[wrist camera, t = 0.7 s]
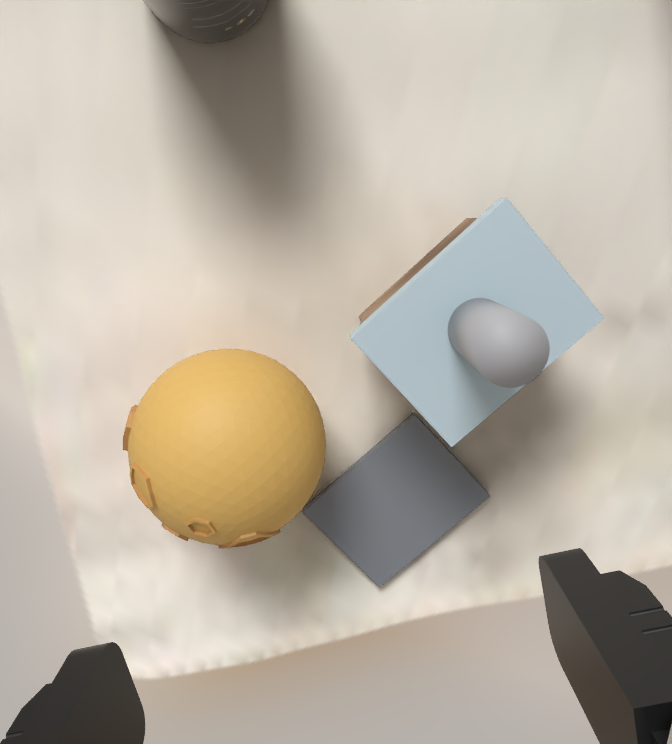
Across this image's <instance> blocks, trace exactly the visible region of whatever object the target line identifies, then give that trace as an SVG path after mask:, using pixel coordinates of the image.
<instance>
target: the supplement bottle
mask: <svg viewBox="0 0 672 744" xmlns="http://www.w3.org/2000/svg"><path fill="white" fill-rule="evenodd" d="M143 1H144V2H145V4H146V5H147V6H148V7H149V8H150V10H151V11H152V12H153V13H154V14H155V15H156V16H157V17H158V18H159V19H160V20H161V21H162V22H163V23H164V24H165V25H166V26H167V27H169V28H170V29H171V30H173V31H174V32H176V33H178V34H179V35H181V36H184V37H186V38H188V39H191V40H195V41H200V42H220V41H225V40H228V39H231V38H233V37H236V36H238V35H239V34H241V33H243V32H244V31H246V30H247V29H248V28H249V27H250V26H252V25H253V24H254V23H255V21H256V20H257V19H258V18H259V16H260V15H261V14H262V12H263V10H264V9H265V7H266V5H267V3H268V0H143Z"/></svg>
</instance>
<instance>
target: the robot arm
mask: <svg viewBox="0 0 672 744" xmlns="http://www.w3.org/2000/svg"><path fill="white" fill-rule="evenodd" d="M539 569H540V575H541V581H542V587H543V593H544V599H545V605H546V611H547V618H548V624H549V629H550V634H551V638H552V641H553V645H554V648H555V651H556V653H557V657H558V659H559V662H560V664H561V666H562V668H563V670H564V672H565V674H566V676H567V678H568V680H569V682H570V684H571V686H572V688H573V690H574V692H575V694H576V696H577V698H578V700H579V702H580V704H581V706H582V708H583V710H584V712H585V714H586V716H587V718H588V720H589V722H590V724H591V726H592V728H593V731H594V732H595V734H596V736H597V739H598V740H599V742H600V744H672V617H671V615H670V614H669V613H668V612H667V611H665V610H664V609H663V606H662V605H661V603H660V602H659V601H658V600H657V599H656V597H655V596H654V595H653V594H652V592H651V591H650V590H649V589H648V588H647V586H646V585H644V584H642V583H641V582H639V581H637V580H635V579H634V578H632V577H630V576H628V575H627V574H625V573H623V572H621V571H620V570H619V571H614V572H609V573H604V574H600V573H599V572H598V570H597V569H596V567H595V566H594V565H593V563H592V562H591V560H590V559H589V558H588V556H587V555H586V554H585V552H584V551H583V550H582V549H580V548H578V549H573V550H568V551H564V552H559V553H554V554H549V555H544V556H540V557H539ZM144 735H145V717H144V711H143V707H142V704H141V702H140V698H139V696H138V693H137V691H136V688H135V685H134V683H133V680H132V677H131V675H130V672H129V669H128V667H127V664H126V661H125V659H124V656H123V653H122V651H121V649H120V647H119V646H118V645H117V644H116V643H114V642H111V643H106V644H101V645H96V646H92V647H86V648H82V649H77V650H74V651H72V652H71V653H70V654H69V655H68V657H67V658H66V660H65V662H64V664H63V666H62V667H61V669H60V670H59V672H58V674H57V675H56V677H55V679H54V680H53V682H52V683H51V684H46V685H45V686H44V687H43V688H42V689H41V690H40V691H39V692H38V693H37V694H36V695H35V696H34V697H33V698H32V699H31V700H30V701H29V702H28V703H27V704H26V705H25V706H24V707H23V708H22V709H21V711H20V712H19V714H18V716H17V717H16V719H15V720H14V722H13V724H12V725H11V727H10V728H9V730H8V732H7V733H6V739H3V740H2V741H1V743H0V744H143V741H144Z"/></svg>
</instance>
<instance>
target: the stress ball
mask: <svg viewBox="0 0 672 744" xmlns="http://www.w3.org/2000/svg"><path fill="white" fill-rule="evenodd" d="M325 448H326V440H325V430H324V425H323V420H322V417H321V414H320V411H319V408H318V406H317V404H316V402H315V400H314V398H313V396H312V395H311V393H310V392H309V390H308V389H307V387H306V386H305V385H304V383H303V382H302V381H301V380H300V379H299V378H298V377H297V376H296V375H295V374H294V373H293V372H291V371H290V370H289V369H288V368H286V367H285V366H283V365H282V364H280V363H279V362H277V361H276V360H273V359H271V358H269V357H267V356H265V355H262V354H259V353H255V352H252V351H246V350H240V349H219V350H212V351H206V352H203V353H200V354H196V355H193V356H191V357H189V358H186V359H184V360H182V361H180V362H178V363H177V364H175V365H174V366H172V367H171V368H169V369H168V370H167V371H165V372H164V373H163V374H162V375H161V376H160V377H158V379H157V380H156V381H155V382H154V383H153V384H152V385H151V386H150V387H149V389H148V390H147V392H146V393H145V395H144V396H143V398H142V399H141V401H140V403H139V405H135V406H133V407H132V408H131V410H130V413H129V416H128V420H127V423H126V427H125V432H124V436H123V450H127V451H128V457H129V466H130V478H131V484H132V486H133V488H134V490H135V492H136V494H137V496H138V497H139V499H140V500H141V501H142V502H143V504H144V505H145V506H146V507H147V508H149V509H150V510H151V512H152V513H153V514H154V515H155V516H156V517H157V518H158V519H159V520H160V521H161V522H162V523H163V524H162V526H163V528H164V529H166V530H168V531H169V532H171V533H172V534H174V535H176V536H177V537H179V538H182V539H184V540H186V541H188V539H189V538H190V539H193V540H196V541H199V542H202V543H208V544H215V545H218V546H219V548H229V547H238V546H245V545H249V544H253V543H257V542H260V541H262V540H265V539H267V538H269V537H271V536H274V535H276V534H278V533H280V528H282V527H283V526H284V525H286V524H287V523H288V522H290V521H291V520H292V519H293V518H294V517H295V516H296V515H297V514H298V513H299V512H300V511H301V510H302V509H303V507H304V506H305V505H306V503H307V502H308V500H309V499H310V498H311V496H312V494H313V492H314V490H315V489H316V487H317V484H318V482H319V479H320V476H321V474H322V470H323V465H324V461H325Z"/></svg>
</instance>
